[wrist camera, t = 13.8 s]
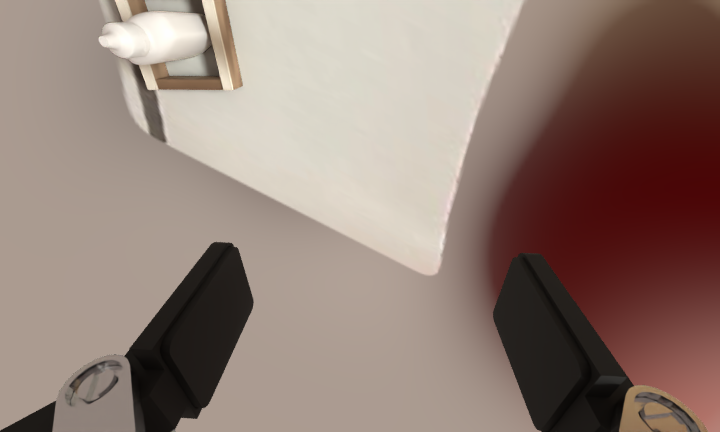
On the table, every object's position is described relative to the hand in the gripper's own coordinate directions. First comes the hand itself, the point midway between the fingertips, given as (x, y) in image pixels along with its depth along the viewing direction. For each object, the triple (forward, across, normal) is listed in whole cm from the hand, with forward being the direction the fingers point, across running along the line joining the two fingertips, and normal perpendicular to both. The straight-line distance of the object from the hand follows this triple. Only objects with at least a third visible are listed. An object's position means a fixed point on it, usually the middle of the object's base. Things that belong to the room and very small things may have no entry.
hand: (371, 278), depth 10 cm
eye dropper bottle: (+28, +20, -7) cm, 36 cm away
